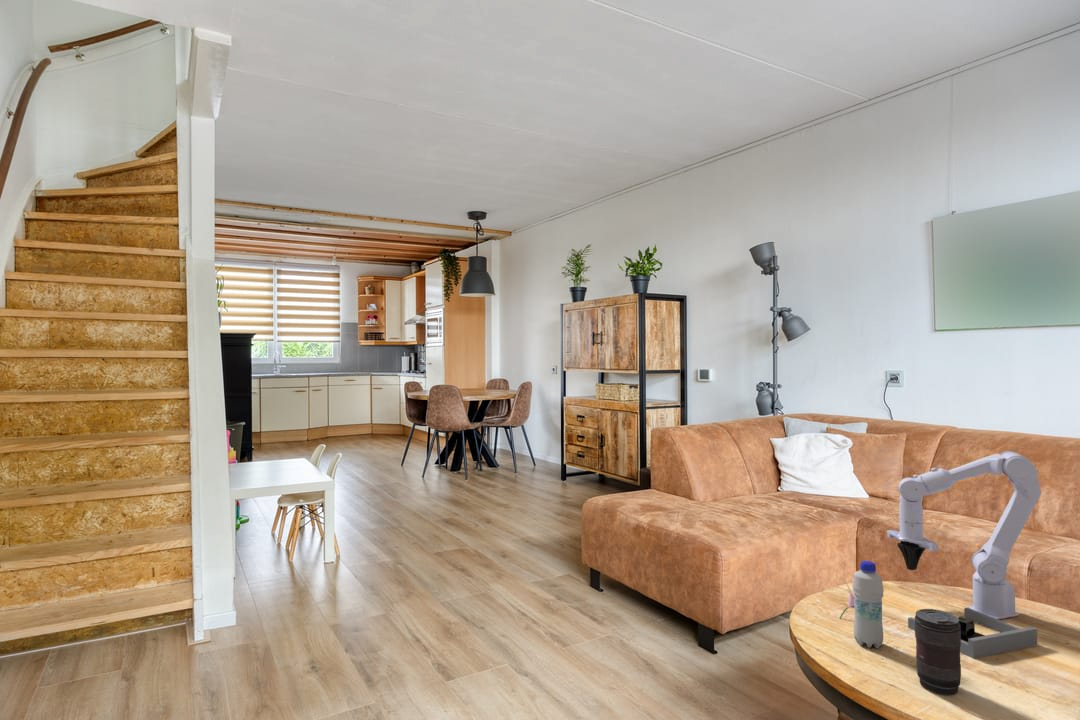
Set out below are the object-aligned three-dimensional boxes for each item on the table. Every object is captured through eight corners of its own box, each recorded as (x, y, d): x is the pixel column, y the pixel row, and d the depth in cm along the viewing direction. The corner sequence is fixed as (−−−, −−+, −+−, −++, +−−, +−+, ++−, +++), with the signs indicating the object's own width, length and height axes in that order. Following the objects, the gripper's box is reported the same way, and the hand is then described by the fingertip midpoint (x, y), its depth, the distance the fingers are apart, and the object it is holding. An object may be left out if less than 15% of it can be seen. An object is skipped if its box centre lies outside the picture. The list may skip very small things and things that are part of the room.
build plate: (961, 627, 157) (961, 609, 157) (994, 638, 150) (993, 619, 150) (935, 638, 151) (935, 619, 151) (968, 650, 144) (967, 630, 144)
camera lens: (906, 678, 131) (905, 608, 131) (941, 676, 131) (940, 607, 131) (934, 699, 123) (933, 624, 123) (971, 696, 123) (970, 623, 123)
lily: (865, 637, 153) (883, 604, 153) (819, 607, 160) (837, 576, 160) (870, 635, 162) (887, 603, 162) (827, 607, 169) (843, 577, 169)
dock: (967, 616, 161) (967, 601, 161) (1037, 645, 145) (1036, 628, 145) (908, 627, 155) (907, 611, 155) (973, 658, 139) (973, 641, 139)
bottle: (883, 640, 148) (882, 558, 148) (885, 652, 142) (884, 567, 142) (852, 635, 151) (851, 555, 151) (853, 647, 145) (852, 563, 145)
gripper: (878, 516, 177) (879, 562, 177) (923, 529, 164) (924, 579, 164) (897, 514, 180) (897, 560, 180) (943, 526, 166) (943, 576, 166)
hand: (911, 569), depth 172 cm, fingers closed
